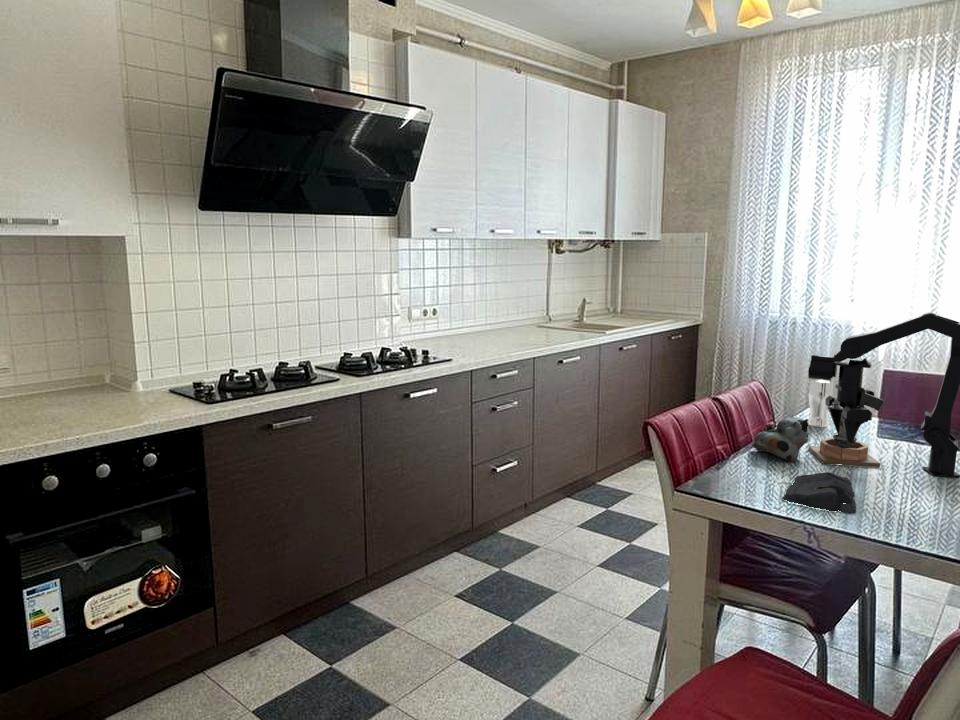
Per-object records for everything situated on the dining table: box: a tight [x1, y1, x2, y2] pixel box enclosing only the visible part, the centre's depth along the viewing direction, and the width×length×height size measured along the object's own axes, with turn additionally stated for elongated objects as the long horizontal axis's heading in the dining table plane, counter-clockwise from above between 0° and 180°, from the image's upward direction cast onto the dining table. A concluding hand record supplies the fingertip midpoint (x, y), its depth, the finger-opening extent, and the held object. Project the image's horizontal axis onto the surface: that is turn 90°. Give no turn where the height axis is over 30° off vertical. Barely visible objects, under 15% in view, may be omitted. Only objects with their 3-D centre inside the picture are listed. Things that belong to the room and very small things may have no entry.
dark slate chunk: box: [782, 471, 857, 514], centre depth 164 cm, size 15×22×5 cm
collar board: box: [808, 437, 881, 468], centre depth 194 cm, size 14×14×4 cm
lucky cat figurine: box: [750, 416, 810, 463], centre depth 194 cm, size 15×12×14 cm
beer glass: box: [808, 379, 834, 428], centre depth 229 cm, size 7×7×15 cm
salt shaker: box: [832, 413, 858, 448], centre depth 193 cm, size 6×6×12 cm
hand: (844, 438), depth 193 cm, fingers closed on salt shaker, 8 cm apart
